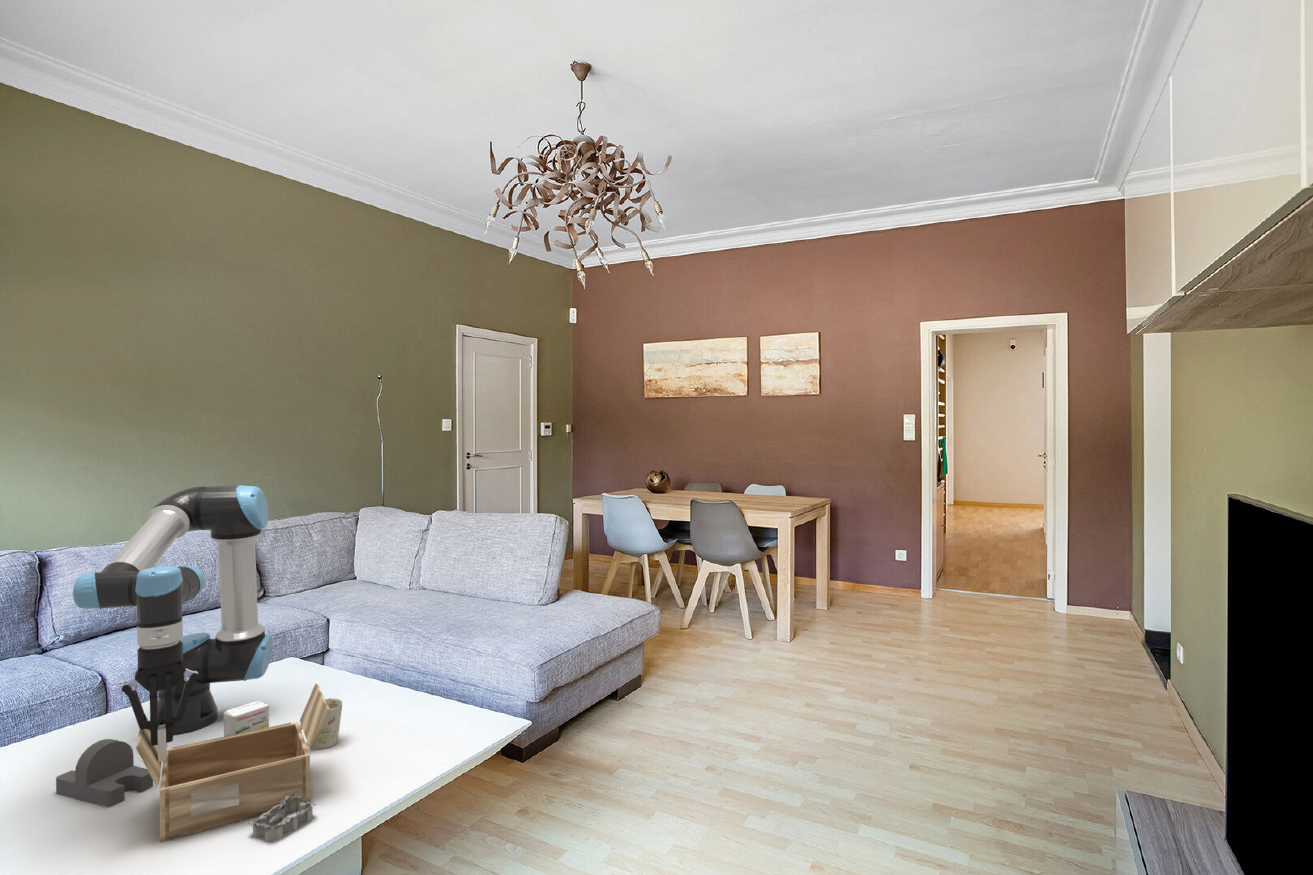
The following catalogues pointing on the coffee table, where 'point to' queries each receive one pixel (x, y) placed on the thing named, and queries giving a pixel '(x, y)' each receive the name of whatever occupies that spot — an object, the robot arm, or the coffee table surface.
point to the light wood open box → (231, 778)
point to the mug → (329, 725)
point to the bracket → (104, 775)
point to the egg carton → (273, 820)
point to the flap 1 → (149, 754)
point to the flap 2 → (314, 716)
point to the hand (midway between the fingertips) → (162, 758)
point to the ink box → (246, 718)
